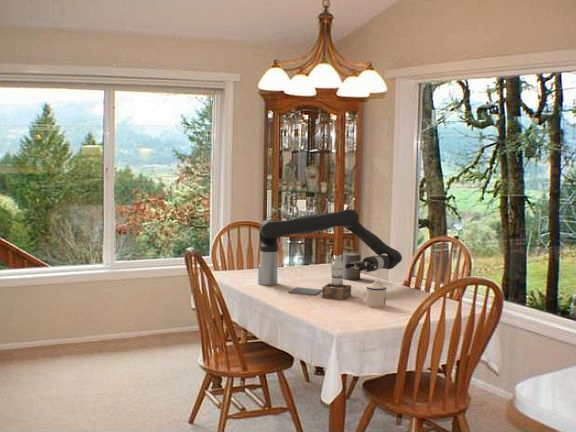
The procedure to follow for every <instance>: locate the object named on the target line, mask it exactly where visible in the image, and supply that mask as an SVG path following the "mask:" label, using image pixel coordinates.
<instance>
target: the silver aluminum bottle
mask: <svg viewBox="0 0 576 432" xmlns="http://www.w3.org/2000/svg"><path fill="white" fill-rule="evenodd" d="M330 271H331V272H330V273H331V282H330V284H331V288H342V289H343V285H344V284H343V283H344V281H343V280H344V279H343V273H344V264H343V255H341V254H334V255H333V261H332V262H331V265H330Z"/></svg>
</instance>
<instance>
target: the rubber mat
mask: <svg viewBox="0 0 576 432" xmlns="http://www.w3.org/2000/svg"><path fill="white" fill-rule="evenodd" d="M287 293H288V294H294V295H295V294H296V295H297V294H298V295H307V296H317V295H319V294H320V293H322V289H321V288H320V289H319V288H310V287H309V288H308V287H299V286H296V287H294V288H293V289H290V290H289V291H288V292H287Z"/></svg>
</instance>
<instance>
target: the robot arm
mask: <svg viewBox="0 0 576 432" xmlns="http://www.w3.org/2000/svg"><path fill="white" fill-rule="evenodd" d="M359 219H360V217H359V214H358V212H357V211H356V210H354V209H352V208H351V209H350V208H347V209H344V210H340V211H335V212H329V213H315V214H306V215H301V216H297V217H293V218H292V219H288V220H280V221H279V220H278V221H277V220H272V219H266V220H265V219H264V220H263V221H262V222H261V223H260V225H259V265H258V274H257V275H258V277H257V279H258V280H257V281H258V282H257V283H258V285H259V284H260V285H262V286H263V285H264V286H275V285H277V284H278V273H279V272H278V267H279V266H278V264H279V262H278V261H279V257H278V256H279V246H278V238H279V237H280V238H281V237H284V236H288V235H300V234H302V235H303V234H310V233H316V232H320V231H324V230H328V229H331V228H336V227H343V228H345V229H346V230H348V231H349V232H350V233H351V234H354V235H355V236H356V237H357V238H358V239H360V240H361V241H362V242H363V243H364V244H365V245H366V246H367V247H368V248H369V249H371V251H373V252H374V254H376V255H372V256H367V257H364V258H363V259H362V260H360V262H357V261H352V262H348V264H346V265H345V268H346V269H348V268H355V269H359V271H360V272H362V271H365V272H367V273H371V272H375V271H379V270H382V269H383V270H392V269H393V268H395V267H396V266H397V265H398V264H399V263H401V262H402V260H403V256H402V254H401V253H400V251H398V250H396V249H395V248H393V247H391V246H389V245H388V244H386V243H385V242H384V241H382V240H381V238H380V237H378V236H377V235H376V234H374V233H373V232H371V231H370V230H369V229H367V228H366V227H365V226H364V225H362V223H360V221H359ZM356 266H357V267H356Z"/></svg>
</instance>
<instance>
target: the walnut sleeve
mask: <svg viewBox="0 0 576 432" xmlns="http://www.w3.org/2000/svg"><path fill="white" fill-rule="evenodd" d="M321 288H322V292H321V295H322V296H321V298H323V299H331V300H332V299H333V300H344V301H345V300H347V299H348V298H350V297H351V296H352V285H350V284H343V289H342V288H331V282H329V283H327V284H325V285H324V286H322V287H321Z"/></svg>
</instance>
